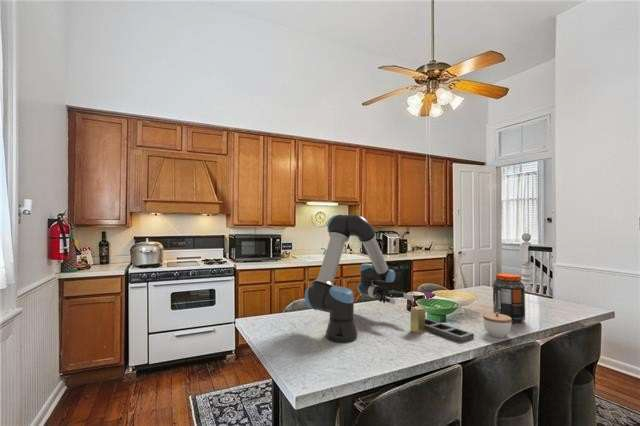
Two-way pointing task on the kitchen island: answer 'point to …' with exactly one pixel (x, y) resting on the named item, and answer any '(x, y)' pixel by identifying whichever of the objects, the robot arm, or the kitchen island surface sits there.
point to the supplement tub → (509, 296)
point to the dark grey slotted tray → (448, 331)
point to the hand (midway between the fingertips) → (404, 299)
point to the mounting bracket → (428, 294)
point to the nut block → (418, 319)
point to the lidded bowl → (497, 324)
